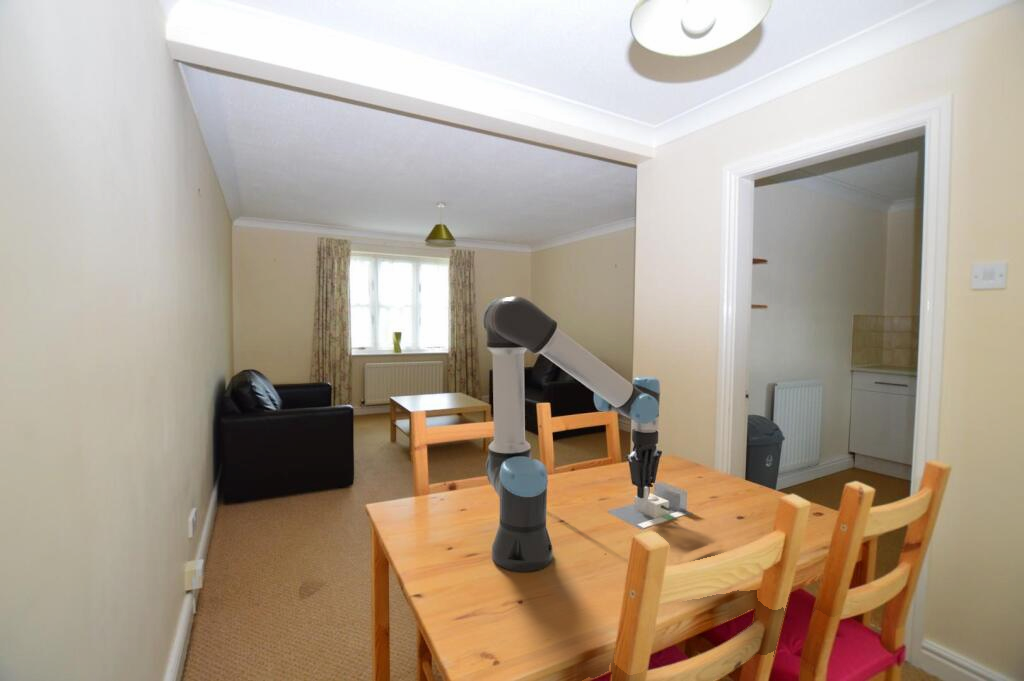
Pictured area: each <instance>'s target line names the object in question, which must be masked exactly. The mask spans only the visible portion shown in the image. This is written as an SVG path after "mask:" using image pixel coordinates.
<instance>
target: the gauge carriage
mask: <svg viewBox="0 0 1024 681" xmlns="http://www.w3.org/2000/svg"><path fill="white" fill-rule="evenodd" d="M633 504H634V509H636V510H638V511H640V512H642V513H644V514H646V515H648V516H650V517H653V518H658V517H661V516H664V515H667V514H669V511H670V508H669V501H667V500H665V499H663V498H660V497H658V496H656V495H654V493H651V492H649V497H648V509H646V510H644V509H642V508H640V507H638V497H637V494H636V495H634V501H633Z"/></svg>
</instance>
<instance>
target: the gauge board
mask: <svg viewBox="0 0 1024 681" xmlns="http://www.w3.org/2000/svg"><path fill="white" fill-rule="evenodd" d="M606 513H608V514H610V515H612V516H615V518H618V519H621V520H622V521H624V522H626V523H628V524H629V525H632V526H633V527H635V528H637V529H639V530H645V529H648V528H652V527H654V526H657V525H659V524H660V525H661V524H664V523H666V522H670V521H672V520H676V519H678V518H681V517H685V516H687V515H690V514H693V512H691V511H689V510H686V511H684V512H677V511H674V510H672V509H670V511H669V514H667V515H664V516H661V517H658V518H653V517H650V516H648V515H646V514H644V513H642V512H640V511H638V510H636V509H634V503H630V504H627V505H624V506H623V505H622V506H620V507H616V508H612V509H609V510H606Z"/></svg>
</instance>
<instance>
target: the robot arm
mask: <svg viewBox="0 0 1024 681" xmlns="http://www.w3.org/2000/svg"><path fill="white" fill-rule="evenodd" d="M482 321H483V327H484V329H485V332H486V349H487V350H488V351H489V352H491V354H492V392H493V394H492V396H493V402H492V403H493V440H492V441H491V442H490V444H488V457H487V459H486V464H485V472H486V473H485V474H486V477H487V480H488V482H489V484H490V485H491V487H492V488H493V489H494V492H495V493H496V494H497V496H498V497H499V522H498V523H499V524H498V528H497V531H496V534H495V537H494V541H493V543H492V545H491V558H492V560H493V562H494V564H496V565H497V566H499V567H500V568H503V569H505V570H509V571H513V572H520V573H525V572H526V573H529V572H535V571H539V570H543V569H545V568H547V566H549V565H550V564H551V563H552V561H553V554H554V552H553V550H554V548H553V545H552V541H551V539H550V538H551V537H550V535H549V532H548V528H547V506H548V505H547V503H548V500H547V499H548V485H549V484H548V482H549V480H548V479H549V478H548V472H547V467H546V466H545V465H544V463H542V462H541V460H538V459H537V458H535V459H533V457H532V456H531V453H532V451H531V450H532V448H531V443H529V442H528V441H527V439H526V428H525V427H526V418H525V416H526V414H525V413H526V410H525V406H526V404H525V403H526V402H525V401H526V400H525V352H526V351H527V350H528V351H530V352H531V353H532V354H533V355H538V354H541V355H542V356H544V357H545V358H547V359H548V360H549V361H550V362H552V363H553V364H555V365H556V366H557V367H559V368H560V369H561V370H563V371H564V372H565V373H567V374H568V375H570V376H571V377H572V378H574V379H575V380H577V381H578V382H580V383H581V384H582V385H584V386H585V387H586V388H587V389H589V390H590V391H592V392H593V403H594V406H595V409H596V410H597V411H598V412H606V413H608V412H615V413H617V414H619V415H620V416H624V417H626V418H628V419H630V420H631V427H632V428H633V429H632V430H631V441H632V443H633V447H632V452H631V453H630V454H629V453H628V454H626V457H625V458H626V460H627V461H628V467H629V472H630V474H629V475H630V479H631V484H632V486H636V489H637V492H636V495H637V497H638V507H640V508H642V509H644V510H646V509H648V497H649V493H651V492H650V489H651V488H654V483H656V479H657V474H658V469H659V464H660V463H659V462H660V458H661V457H662V454H663V451H662V450H660V449H658V448H657V444H658V443H659V431H658V429H659V421H660V420H659V418H660V401H661V400H660V395H661V385H660V380H659V379H658V378H656V377H653V376H635V377H634V378H633V381H632V383H631V382H630V381H629V380H627V379H626V378H624V377H623V376H622V375H620V374H619V373H618V372H617V371H615V370H613V369H612V368H611V367H609V366H608V365H607V364H605V362H603V361H602V360H601V359H599V358H598V357H597V356H595V355H594V354H593V353H591V352H590V351H588V350H587V349H586V348H585V347H583V346H582V345H580V344H579V343H578V342H576V341H575V340H574V339H573V338H572V337H570V336H569V335H567V334H566V333H565V332H563V331H562V330H561V329H559V322H557V321H556V320H554V319H553V318H551V316H549V315H548V314H547V313H546V312H544V311H543V310H542V309H541V308H540V307H539V306H537V305H536V304H535V303H533V302H532V301H531V300H529V299H527V298H525V297H522V296H515V295H514V296H509V297H507V296H506V297H500V298H496V299H495V300H494V301H492V302H491V303H490V304H489V305H488V306H487V308H486V309H485V311H484V313H483V320H482Z"/></svg>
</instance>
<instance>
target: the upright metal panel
mask: <svg viewBox="0 0 1024 681" xmlns="http://www.w3.org/2000/svg"><path fill="white" fill-rule="evenodd" d="M653 495H656V496H658V497H660V498H663V499H665V500H667V501H669V508H670V509H672V510H674V511H677V512H684V511H686V510H687V505H688V504H687V503H688V491H687V490H685V489H682V488H680V487H677V486H676V485H675V486H674V485H672V484H670V483H666V482H663V481H655V483H653ZM687 511H688V510H687Z"/></svg>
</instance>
